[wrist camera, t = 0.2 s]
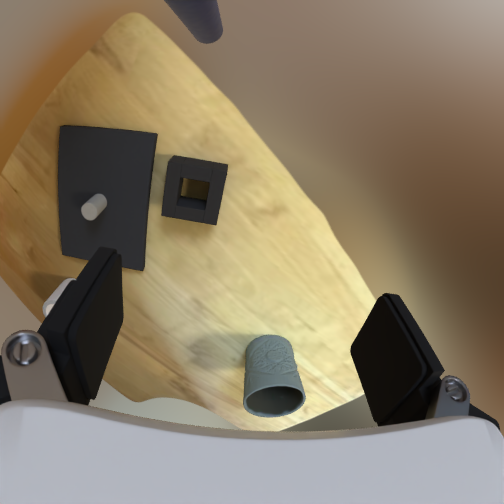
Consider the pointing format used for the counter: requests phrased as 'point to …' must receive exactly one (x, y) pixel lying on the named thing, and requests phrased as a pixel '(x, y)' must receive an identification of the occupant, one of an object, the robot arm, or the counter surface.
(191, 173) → the black square frame
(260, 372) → the grey green embossed cup
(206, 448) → the robot arm
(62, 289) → the white short cylinder
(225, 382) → the counter surface
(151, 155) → the base pad
